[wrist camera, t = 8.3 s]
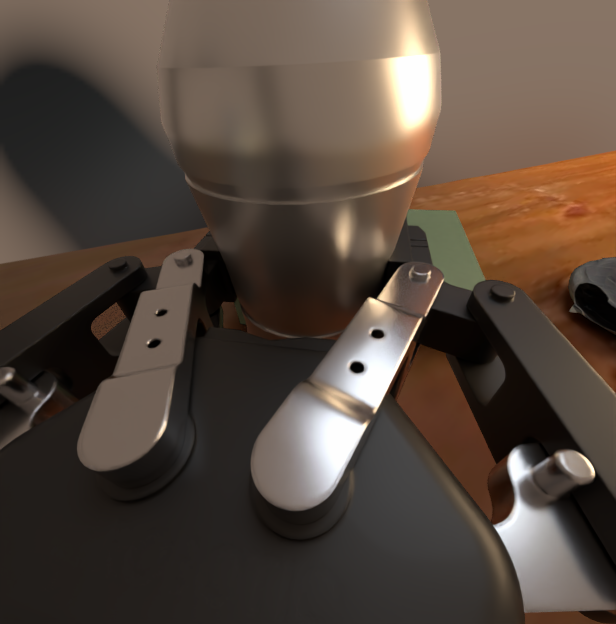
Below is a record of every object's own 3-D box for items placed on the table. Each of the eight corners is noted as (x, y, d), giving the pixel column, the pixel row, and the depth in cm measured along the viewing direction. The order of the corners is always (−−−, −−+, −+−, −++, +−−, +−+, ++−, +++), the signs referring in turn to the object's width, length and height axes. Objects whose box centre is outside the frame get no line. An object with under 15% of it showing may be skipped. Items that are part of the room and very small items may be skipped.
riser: (240, 324, 23) (228, 283, 20) (281, 240, 32) (276, 205, 29) (473, 347, 20) (496, 304, 17) (443, 248, 29) (455, 210, 26)
